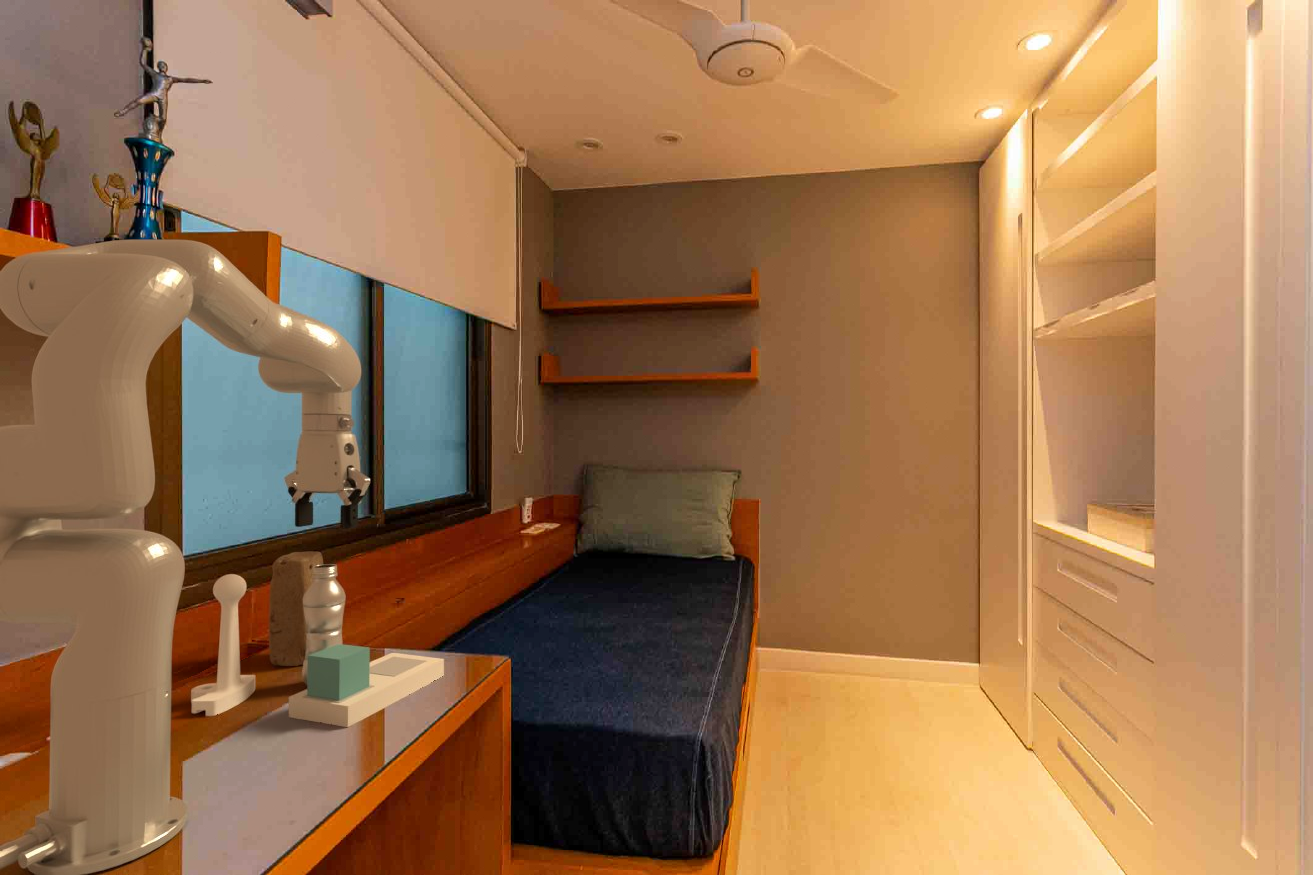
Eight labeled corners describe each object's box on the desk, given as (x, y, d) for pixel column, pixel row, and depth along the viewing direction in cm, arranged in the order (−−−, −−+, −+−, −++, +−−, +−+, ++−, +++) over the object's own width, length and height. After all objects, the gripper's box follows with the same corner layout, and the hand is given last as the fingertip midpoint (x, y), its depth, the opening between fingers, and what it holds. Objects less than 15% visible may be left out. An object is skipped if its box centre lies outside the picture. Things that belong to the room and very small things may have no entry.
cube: (339, 700, 95) (339, 659, 95) (307, 695, 97) (307, 655, 97) (369, 686, 101) (369, 647, 101) (338, 682, 103) (338, 643, 103)
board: (347, 727, 93) (348, 705, 93) (288, 717, 97) (288, 696, 97) (443, 676, 114) (443, 658, 114) (392, 669, 118) (392, 651, 118)
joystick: (221, 715, 97) (223, 581, 98) (168, 716, 97) (170, 581, 97) (262, 688, 109) (263, 567, 109) (215, 689, 108) (216, 568, 108)
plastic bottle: (354, 682, 111) (355, 564, 111) (315, 695, 105) (316, 571, 106) (332, 675, 115) (333, 561, 115) (293, 687, 109) (294, 567, 109)
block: (306, 668, 118) (307, 557, 118) (263, 669, 118) (264, 558, 118) (332, 649, 129) (333, 548, 129) (293, 650, 129) (294, 548, 129)
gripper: (384, 426, 111) (383, 526, 111) (305, 426, 117) (305, 522, 117) (350, 425, 104) (350, 532, 104) (268, 425, 110) (268, 527, 109)
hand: (326, 527), depth 110 cm, fingers open, 9 cm apart
